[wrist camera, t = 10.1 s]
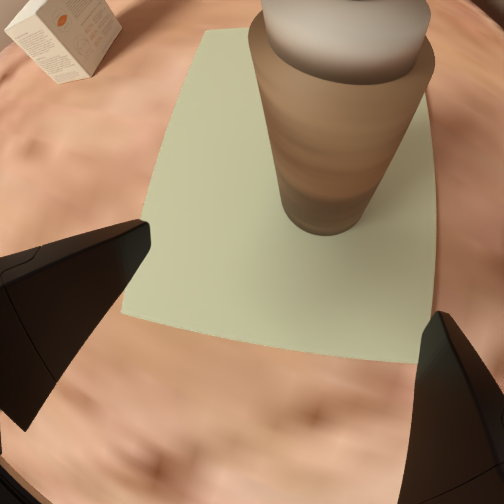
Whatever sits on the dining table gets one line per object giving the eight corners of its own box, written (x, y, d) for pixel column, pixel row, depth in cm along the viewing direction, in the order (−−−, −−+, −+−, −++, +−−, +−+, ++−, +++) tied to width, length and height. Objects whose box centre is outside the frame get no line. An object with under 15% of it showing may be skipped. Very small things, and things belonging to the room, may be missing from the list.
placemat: (419, 362, 15) (423, 364, 15) (125, 313, 18) (120, 313, 18) (413, 50, 19) (414, 46, 19) (207, 34, 23) (206, 30, 22)
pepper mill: (378, 222, 17) (507, 21, 3) (294, 246, 17) (265, 24, 3) (348, 148, 18) (384, -73, 4) (270, 168, 18) (210, -61, 5)
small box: (89, 37, 26) (47, -19, 16) (124, 28, 25) (83, -37, 15) (56, 86, 25) (1, 31, 15) (91, 79, 24) (34, 12, 14)
